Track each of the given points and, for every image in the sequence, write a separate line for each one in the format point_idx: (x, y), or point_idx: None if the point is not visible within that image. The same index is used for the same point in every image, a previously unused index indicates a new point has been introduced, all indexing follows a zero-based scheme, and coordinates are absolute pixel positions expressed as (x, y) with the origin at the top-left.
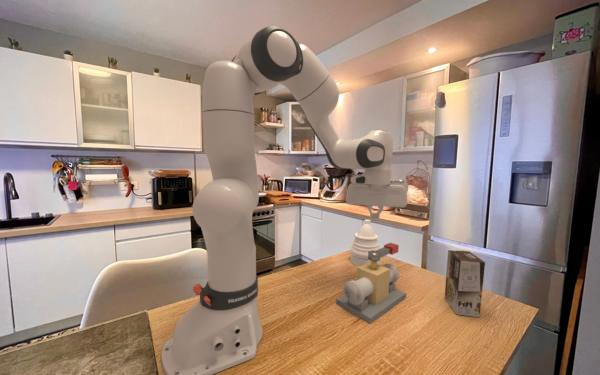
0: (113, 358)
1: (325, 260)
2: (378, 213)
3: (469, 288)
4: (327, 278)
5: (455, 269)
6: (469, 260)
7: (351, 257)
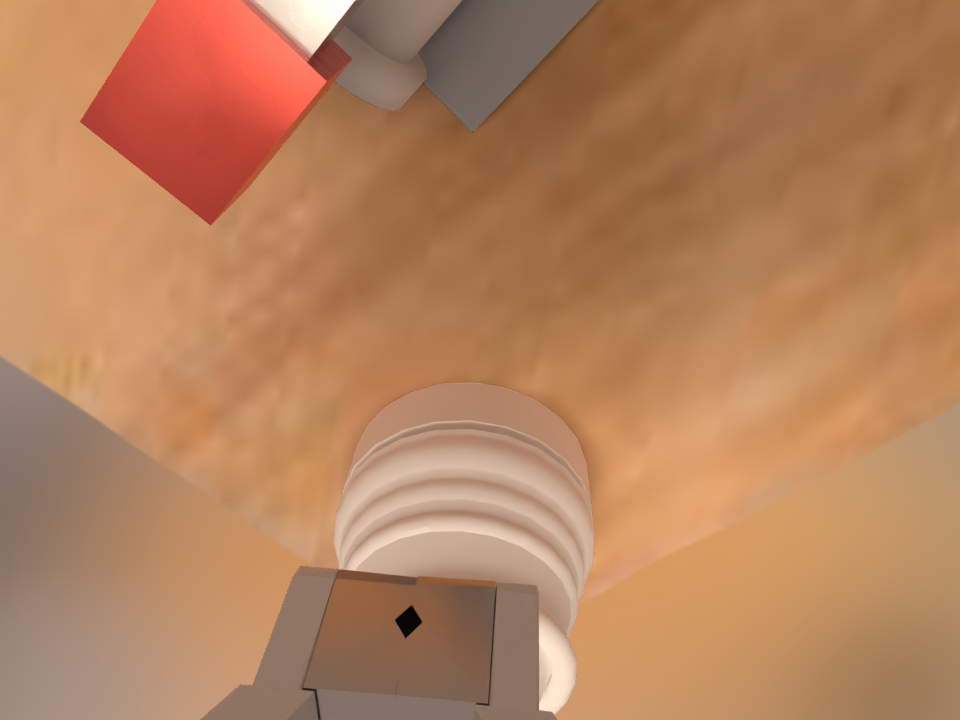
0: None
1: (792, 474)
2: (281, 705)
3: None
4: (872, 164)
5: None
6: None
7: (587, 487)
